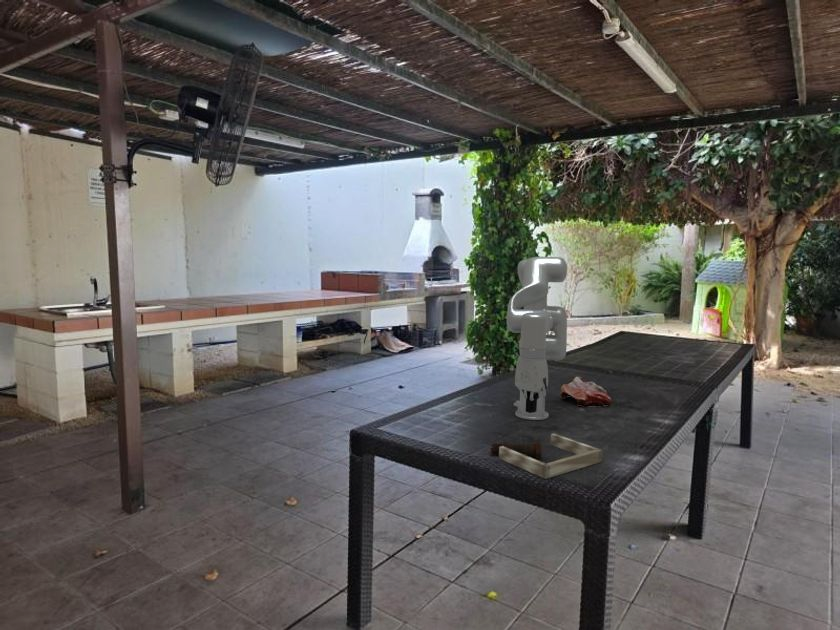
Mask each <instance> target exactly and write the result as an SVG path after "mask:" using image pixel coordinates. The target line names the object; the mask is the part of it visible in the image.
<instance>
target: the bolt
mask: <svg viewBox="0 0 840 630" xmlns="http://www.w3.org/2000/svg"><path fill="white" fill-rule="evenodd" d="M501 446H504V447H506V448H509V449H511V450H514V451H516V452H518V453H521V454H523V455H526V456H528V455H529V456H535V460H542V441H541V440H540V439H535V443H527V444H524V443H509V440H503V441H502V443H492V444H490V447H491V448H490V452H491V454H493V455H496V454H498V455H499V447H501Z"/></svg>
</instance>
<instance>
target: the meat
mask: <svg viewBox="0 0 840 630" xmlns="http://www.w3.org/2000/svg"><path fill="white" fill-rule="evenodd" d="M567 396H572V398H574V399H575V400H576V402H577V404H576V407H578V406H579V405H582V406H603V405H609V406H610V405H611V397H610V396H609V394H608V392H607V390H606V389H604V387H602V386H600V385H598V384H596V383H595V382H594V381H585V380H584V379H583V377H581V376H575V378H573V379H572V382H569V383H568V384H566V383H564V384H563V385H561V387H560V397H561V399H562V398H564V397H567Z"/></svg>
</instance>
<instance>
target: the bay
mask: <svg viewBox="0 0 840 630" xmlns="http://www.w3.org/2000/svg"><path fill="white" fill-rule="evenodd" d="M550 445H551V446H553V447H556V448H559V449H561V450H563V451H566V452H568V453H571V454H574V455H571V456H568V457H564V458H561V459H557V460H554V461H551V462H547V463H545V462H542V461H541V460H539V459H536V458H533V457H531V456H528V455H523V454H521V453H518V452H516V451H514V450H511V449H509V448H506V447H504V446H501V447H499V454H498V459H500V460H502V461H503V462H505V463H509V464H511V465H512V466H515V467H518V468H520V469H522V470H524V471H526V472H529V473H531V474H534V475H536V476H538V477H540V478H542V479H545V480H547V479H550V478H553V477H557V476H560V475H564V474H566V473H569V472H573V471H575V470H580V469H581V468H582V469H583V468H586V467H589V466H592V465H595V464H598V463H601V462H603V449H601V448H598V447H595V446H592V445H589V444H586V443H583V442H580V441H577V440H575V439H571V438H568V437H565V436H563V435H559V434H557V433H551V434H550Z"/></svg>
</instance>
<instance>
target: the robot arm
mask: <svg viewBox="0 0 840 630" xmlns="http://www.w3.org/2000/svg"><path fill="white" fill-rule="evenodd" d="M517 275H518V279H519V282H520V284H521V288H520V289H518V290H517V291H516V292H515V293H514V294H513V295H512V296H511V297H510V299H509V302H508V305H507V311H506V312H507V313H506V327H507V329H508V331H510V332H511V333H514V334H515V333H516V334H518V333H519V334H520V339H519V341H518V348H519V355H518V358H517V360H516V361H517V362H516V368H515V375H514V385H515V387H516V388H517V389H518V390H519V400H516V401H515V402H514V403H513V407H517V409H516V410H515V413H514V414H515V416H516V417H517V418H520V419H523V420H529V421H530V420H531V421H540V420H541V421H542V420H543V421H544V420H547V419H548V418H549V417H550V414H549V412H548V411H546V408H545V407H546V397H547V390H548V388H549V387H548V386H549V369H548V368H549V367H548V362H547V361H562V360H563V359H565V357H566V354H567V343H568V342H567V341H568V340H567V339H568V334H567V333H568V329H567V328H568V317H567V312H566V310H565V308H564V307H562V306H557V305H548V294H549V283H563V282H564V281H566V278H567V276H568V265H567V261H566V260H565V259H564V257H560V256H534V257H533V256H532V257H530V258H528V259H523V260H520V261H519V262H518V265H517ZM521 308H523V309H521ZM549 332H553V333H554V334H548V333H549Z"/></svg>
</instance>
